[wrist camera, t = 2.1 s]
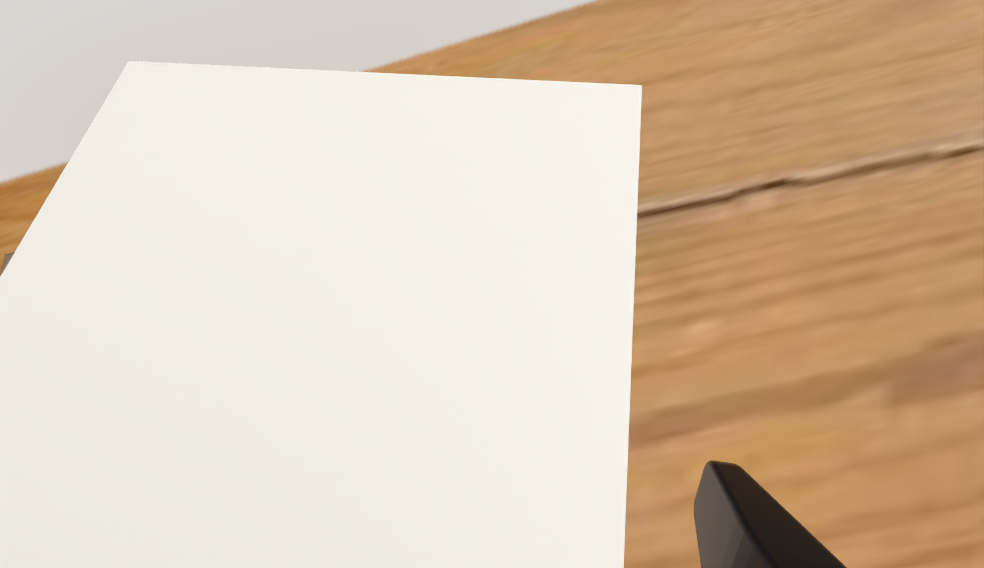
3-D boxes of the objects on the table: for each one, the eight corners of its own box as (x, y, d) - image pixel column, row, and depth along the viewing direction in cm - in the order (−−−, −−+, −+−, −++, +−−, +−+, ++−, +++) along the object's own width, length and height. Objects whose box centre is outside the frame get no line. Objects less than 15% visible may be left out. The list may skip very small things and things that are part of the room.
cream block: (545, 545, 14) (609, 912, 2) (387, 516, 15) (-237, 674, 3) (561, 380, 16) (640, 86, 4) (420, 362, 17) (128, 61, 5)
